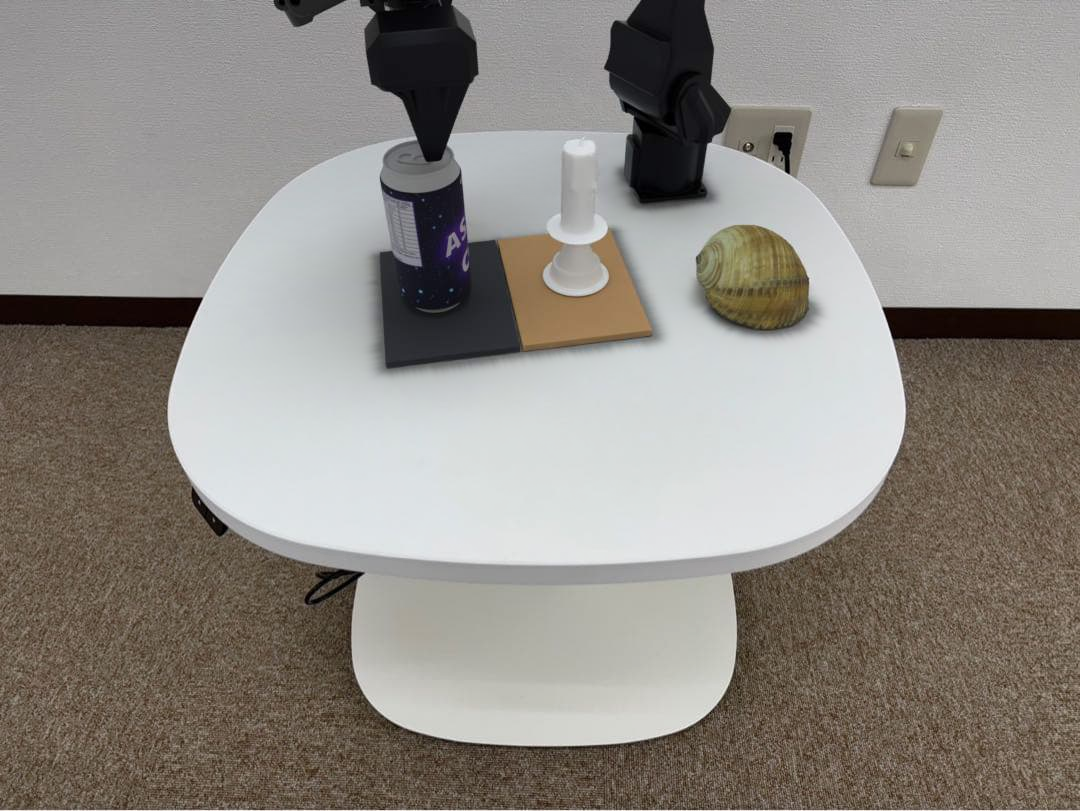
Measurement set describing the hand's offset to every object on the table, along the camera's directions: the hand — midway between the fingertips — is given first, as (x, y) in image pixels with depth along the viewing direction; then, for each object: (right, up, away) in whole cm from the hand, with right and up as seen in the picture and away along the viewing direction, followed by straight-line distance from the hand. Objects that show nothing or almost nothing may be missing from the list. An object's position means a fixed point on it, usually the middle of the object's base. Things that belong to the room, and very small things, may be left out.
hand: (427, 128), depth 57 cm
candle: (+11, -10, +8) cm, 16 cm away
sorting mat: (+5, -11, +7) cm, 14 cm away
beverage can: (0, -11, +6) cm, 13 cm away
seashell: (+25, -11, +7) cm, 28 cm away
